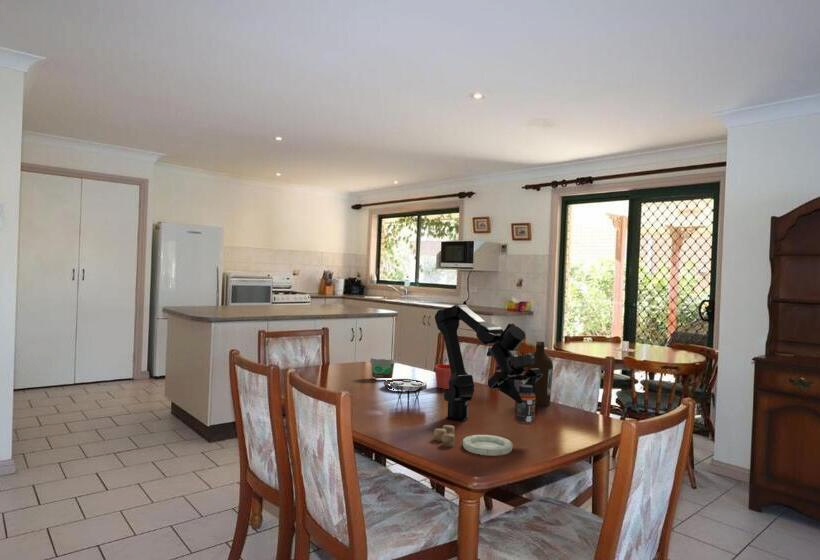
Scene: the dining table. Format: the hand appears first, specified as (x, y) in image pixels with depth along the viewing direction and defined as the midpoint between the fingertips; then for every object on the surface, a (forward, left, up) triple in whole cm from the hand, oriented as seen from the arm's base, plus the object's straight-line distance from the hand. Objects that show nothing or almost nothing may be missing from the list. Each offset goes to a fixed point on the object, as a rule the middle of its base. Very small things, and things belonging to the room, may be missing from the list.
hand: (528, 402), depth 164 cm
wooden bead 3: (-21, -11, -13) cm, 27 cm away
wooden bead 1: (-25, -7, -13) cm, 29 cm away
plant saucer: (-64, +56, -14) cm, 86 cm away
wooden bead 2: (-24, -2, -13) cm, 28 cm away
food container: (-81, +69, -13) cm, 107 cm away
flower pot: (-48, +68, -13) cm, 84 cm away
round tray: (-10, -8, -13) cm, 18 cm away
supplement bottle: (-1, +1, -7) cm, 7 cm away
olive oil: (-6, +58, -13) cm, 60 cm away
